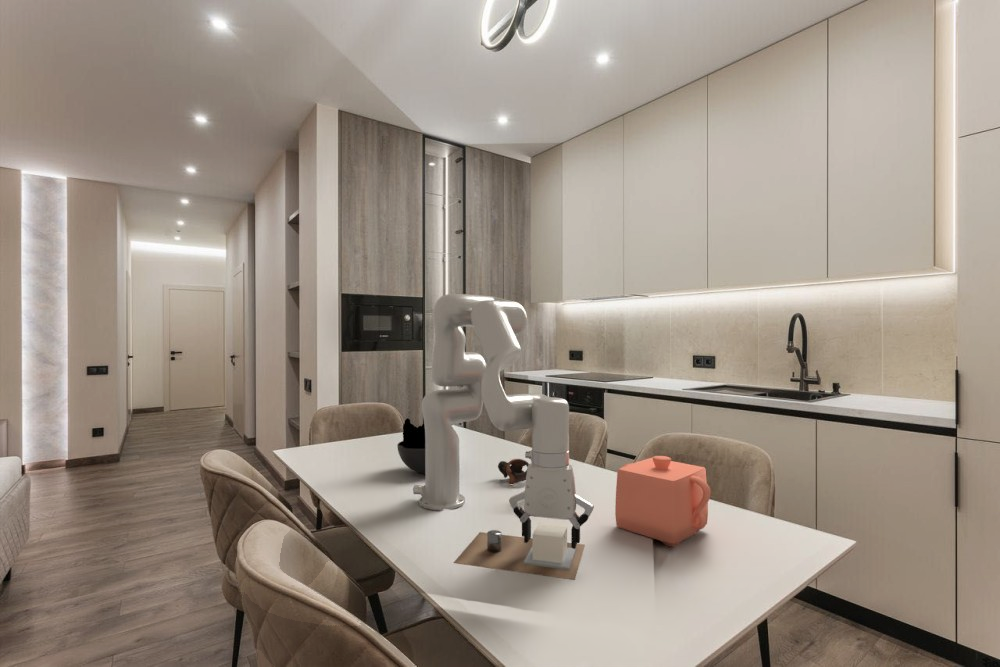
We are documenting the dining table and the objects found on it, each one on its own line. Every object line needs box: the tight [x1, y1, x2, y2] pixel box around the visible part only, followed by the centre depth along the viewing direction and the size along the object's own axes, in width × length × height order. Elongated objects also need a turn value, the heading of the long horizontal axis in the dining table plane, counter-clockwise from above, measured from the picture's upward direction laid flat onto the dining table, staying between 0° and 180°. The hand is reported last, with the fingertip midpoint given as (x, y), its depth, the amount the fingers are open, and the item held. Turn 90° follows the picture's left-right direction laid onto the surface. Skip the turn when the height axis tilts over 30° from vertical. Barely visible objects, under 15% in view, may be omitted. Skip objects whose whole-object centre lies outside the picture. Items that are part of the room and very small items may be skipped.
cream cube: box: [532, 522, 568, 563], centre depth 99 cm, size 6×6×5 cm
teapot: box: [614, 455, 712, 547], centre depth 118 cm, size 25×23×18 cm
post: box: [486, 529, 503, 553], centre depth 102 cm, size 3×3×4 cm
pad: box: [524, 546, 576, 570], centre depth 99 cm, size 9×9×1 cm
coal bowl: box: [396, 417, 425, 474], centre depth 168 cm, size 20×20×19 cm
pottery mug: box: [497, 458, 530, 485], centre depth 157 cm, size 12×10×8 cm
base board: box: [453, 531, 586, 581], centre depth 100 cm, size 24×16×2 cm, turn 73°
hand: (550, 543), depth 99 cm, fingers open, 9 cm apart
